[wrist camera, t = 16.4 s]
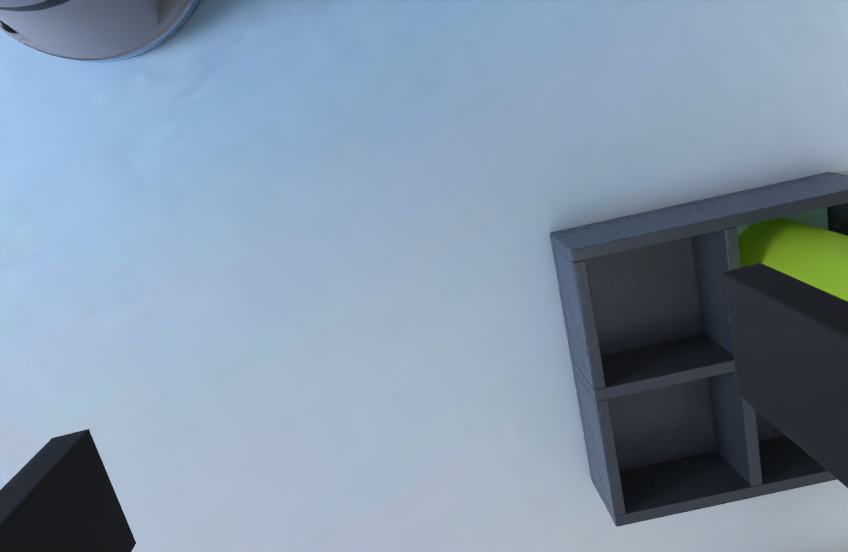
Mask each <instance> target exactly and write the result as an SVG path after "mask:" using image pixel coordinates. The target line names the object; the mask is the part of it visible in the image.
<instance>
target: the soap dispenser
mask: <svg viewBox="0 0 848 552" xmlns="http://www.w3.org/2000/svg"><path fill="white" fill-rule="evenodd" d="M738 240H739V250H740V260H741V268H742V267H746V266H750V265H754V264H758V263H762V264H764V265H766V266H768V267H771V268H773V269H775V270H778V271H780V272H782V273H784V274H787V275H789V276H791V277H793V278H796V279H798V280H800V281H802V282H805V283H807V284H809V285H812V286H814V287H816V288H818V289H821V290H823V291H825V292H827V293H830V294H832V295H834V296H836V297H839V298H841V299H843V300H845V301H848V236H847V235H843V234H840V233H836V232H832V231H829V230H825V229H821V228H818V227H814V226H811V225H807V224H803V223H800V222H796V221H792V220H789V219H785V218H776V219H771V220H766V221H762V222H757V223H754V224H752V225H751V226H749V227H748V228H747V229H746V230H744V231H743V232H742V233H741V234H740V236H739V237H738Z"/></svg>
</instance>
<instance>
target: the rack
mask: <svg viewBox="0 0 848 552" xmlns="http://www.w3.org/2000/svg"><path fill="white" fill-rule="evenodd" d="M776 218H785V219H789V220H792V221H796V222H800V223H803V224H807V225H811V226H814V227H818V228H821V229H825V230H829V231H832V232H836V233H840V234H843V235H847V236H848V175H843V174H836V173H829V172H827V173H823V174H818V175H814V176H809V177H805V178H800V179H795V180H791V181H786V182H782V183H777V184H773V185H768V186H763V187H759V188H754V189H750V190H745V191H740V192H736V193H731V194H727V195H722V196H718V197H713V198H708V199H704V200H699V201H695V202H690V203H686V204H681V205H676V206H672V207H667V208H663V209H658V210H654V211H649V212H644V213H640V214H635V215H631V216H626V217H622V218H617V219H612V220H608V221H603V222H599V223H594V224H589V225H585V226H580V227H576V228H571V229H567V230H562V231H557V232H553V233H550V237H551V243H552V249H553V255H554V261H555V267H556V272H557V278H558V284H559V290H560V296H561V302H562V308H563V314H564V320H565V326H566V331H567V337H568V343H569V349H570V355H571V361H572V367H573V373H574V379H575V385H576V390H577V396H578V402H579V408H580V414H581V420H582V426H583V432H584V438H585V444H586V449H587V455H588V461H589V467H590V473H591V479H592V482H593V484H594V485H595V487H596V489H597V491H598V493H599V495H600V497H601V499H602V501H603V502H604V504H605V506H606V508H607V510H608V512H609V514H610V516H611V517H612V519H613V521H614V523H615V525H616V526H622V525H626V524H631V523H636V522H640V521H645V520H650V519H654V518H659V517H664V516H668V515H673V514H678V513H682V512H687V511H692V510H696V509H701V508H705V507H710V506H715V505H719V504H724V503H729V502H733V501H738V500H743V499H747V498H752V497H757V496H761V495H766V494H771V493H775V492H780V491H785V490H789V489H794V488H799V487H803V486H808V485H813V484H817V483H822V482H827V481H831V480H836V479H837V478H836V477H834V476H833V475H832V474H831V473H830V472H829V471H827V470H826V469H825V468H824V467H823V466H822V465H820V464H819V463H818V462H817V461H816V460H814V459H813V458H812V457H811V456H810V455H809V454H807V453H806V452H805V451H804V450H803V449H801V448H800V447H799V446H798V445H797V444H796V443H794V442H793V441H792V440H791V439H790V438H789V437H787V436H786V435H785V434H784V433H783V432H781V431H780V430H779V429H778V428H777V427H776V426H774V425H773V424H772V423H771V422H770V421H768V420H767V419H766V418H765V417H764V416H763V415H761V414H760V413H759V412H758V411H757V410H756V409H754V408H753V407H752V406H751V405H750V404H748V403H747V402H746V401H745V400H744V399H743V398H741V397H740V396H739V392H738V384H737V376H736V369H735V361H734V354H733V346H732V338H731V331H730V323H729V315H728V308H727V300H726V292H725V285H724V277H723V272H726V271H730V270H734V269H738V268H741V260H740V250H739V240H738V237H739V236H740V234H741V233H742V232H743V231H744V230H746V229H747V228H748V227H749V226H751V225H752V224H754V223H757V222H762V221H766V220H771V219H776Z"/></svg>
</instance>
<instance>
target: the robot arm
mask: <svg viewBox="0 0 848 552" xmlns="http://www.w3.org/2000/svg"><path fill="white" fill-rule="evenodd" d="M199 1H200V0H0V29H1V30H2V31H4V32H5V33H7V34H8V35H10V36H11V37H13V38H14V39H16V40H18V41H20V42H21V43H23V44H25V45H27V46H29V47H32V48H34V49H36V50H38V51H41V52H44V53H47V54H50V55H54V56H58V57H62V58H68V59H74V60H82V61H90V62H107V61H116V60H122V59H127V58H130V57H134V56H137V55H140V54H142V53H145V52H147V51H149V50H151V49H153V48H155V47H157V46H158V45H160V44H161V43H163V42H164V41H166V40H167V39H168V38H170V37H171V36H172V35H173V34H174V33H175V32H177V31H178V30H179V28H180V27H181V26H182V25H183V24H184V23H185V22H186V21H187V19H188V18H189V17H190V15H191V14H192V13H193V11H194V9H195V8H196V6H197V5H198V3H199ZM723 277H724V285H725V292H726V300H727V308H728V315H729V323H730V331H731V338H732V346H733V354H734V361H735V369H736V376H737V384H738V392H739V396H740V397H741V398H743V399H744V400H745V401H746V402H747V403H748V404H750V405H751V406H752V407H753V408H754V409H756V410H757V411H758V412H759V413H760V414H761V415H763V416H764V417H765V418H766V419H767V420H768V421H770V422H771V423H772V424H773V425H774V426H776V427H777V428H778V429H779V430H780V431H781V432H783V433H784V434H785V435H786V436H787V437H789V438H790V439H791V440H792V441H793V442H794V443H796V444H797V445H798V446H799V447H800V448H801V449H803V450H804V451H805V452H806V453H807V454H809V455H810V456H811V457H812V458H813V459H814V460H816V461H817V462H818V463H819V464H820V465H822V466H823V467H824V468H825V469H826V470H827V471H829V472H830V473H831V474H832V475H833V476H834V477H836V478H837V479H838V480H839V481H840V482H842V483H843V484H844V485H845V486H846V487H847V488H848V301H845V300H843V299H841V298H839V297H836V296H834V295H832V294H830V293H827V292H825V291H823V290H821V289H818V288H816V287H814V286H812V285H809V284H807V283H805V282H802V281H800V280H798V279H796V278H793V277H791V276H789V275H787V274H784V273H782V272H780V271H778V270H775V269H773V268H771V267H768V266H766V265H764V264H762V263H758V264H754V265H750V266H746V267H742V268H738V269H734V270H730V271H726V272H723ZM135 544H136V542H135V539H134V537H133V535H132V532H131V530H130V527H129V525H128V523H127V520H126V518H125V515H124V513H123V511H122V508H121V506H120V503H119V501H118V499H117V496H116V494H115V491H114V489H113V487H112V484H111V482H110V479H109V477H108V475H107V472H106V470H105V467H104V465H103V463H102V460H101V458H100V455H99V453H98V451H97V448H96V446H95V443H94V441H93V439H92V436H91V434H90V431H89V429H88V430H84V431H80V432H76V433H71V434H67V435H63V436H59V437H55V438H52V439H51V440H50V441H49V442H48V443H47V444H46V445H45V446H44V447H43V448H42V449H41V450H40V451H39V452H38V453H37V454H36V455H35V456H34V457H33V458H32V459H31V460H30V461H29V462H28V463H27V464H26V465H25V466H24V467H23V468H22V469H21V470H20V471H19V472H18V473H17V474H16V475H15V476H14V477H13V478H12V479H11V480H10V481H9V482H8V483H7V484H6V485H5V486H4V487H3V488H2V489H1V490H0V552H131V551H132V549H133V547H134V546H135Z"/></svg>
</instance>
